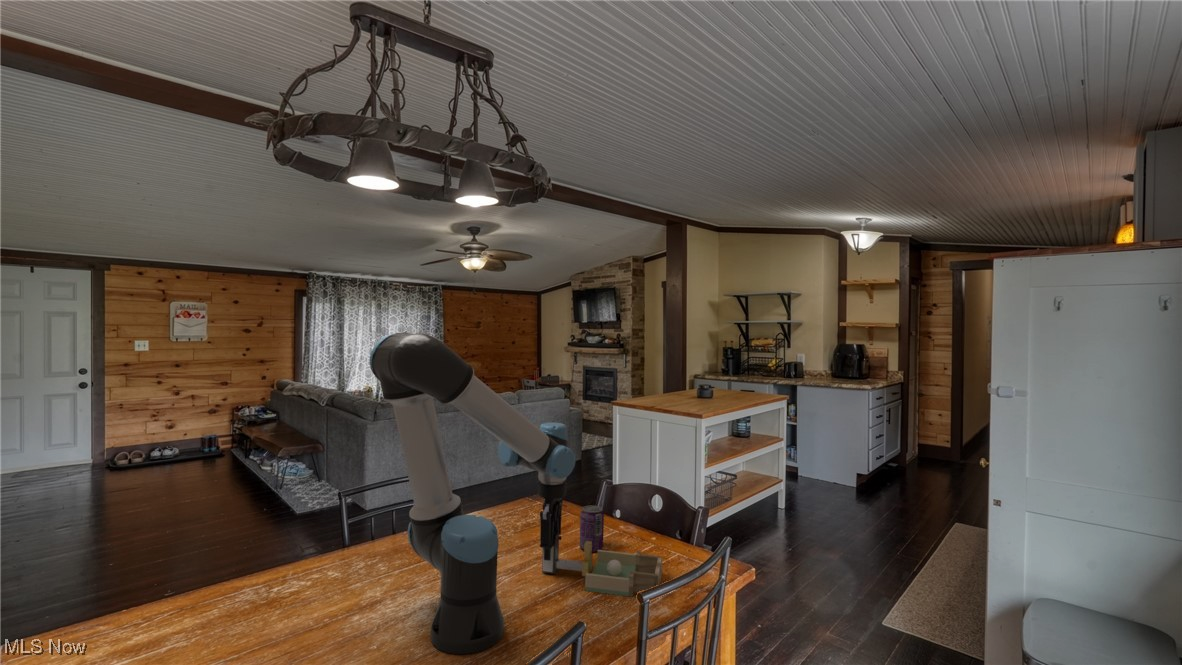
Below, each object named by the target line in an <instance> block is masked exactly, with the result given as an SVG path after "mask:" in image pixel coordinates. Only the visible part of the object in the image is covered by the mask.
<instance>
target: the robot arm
mask: <svg viewBox="0 0 1182 665" xmlns="http://www.w3.org/2000/svg"><path fill="white" fill-rule="evenodd" d="M369 367H370V370H371V372H372V374H373V375H374V377H375V379H377V380H378V381H379V382H380V387H381V391H382V397H383V400H384V401H385V402H387V403H388V404H391V405H392V407H393V413H394V418H395V421H396V426H397V432H398V435H399V436H398V437H399V439H400V445H401V449H402V453H403V458H404V462H405V467H406V472H407V476H408V482H409V485H410V490H411V491H410V492H411V495H412V498H413V499H412V500H413V506H412V507H411V508H410V510H409V520H410V522H409V523H408V527H407V539H408V542H409V544H410V546H411V548H412V550H413V551H414V552H415V554H417V556H419V557H420V558H422V559H423V560H425V561H426V562H427V563H428V564H430V565H431V566H432V567H433V568H434V569H436V570H437V571H438V572H439V573H440V598H439V602H438V605H437V608H436V611H435V614H434V617H433V619H432V623H431V625H430V626H431V627H430V642H431V644H432V645H433V646H434V647H435V648H436V649H437V650H439V651H441V652H444V653H448V654H453V655H468V654H469V655H471V654H474V653H480V652H482V651H485V650H487V649H490V648H491V647H493V646H494V645H495V644H497V643H498V642H499V641H500V640H501V639H502V638H503V635H504V633H505V632H504V631H505V627H504V624H505V619H504V616H503V613H502V610H501V606H500V602H499V600H498V596H497V588H498V586H497V583H498V578H497V577H498V555H499V553H498V552H499V551H498V549H499V547H500V546H499V536H498V529H497V526H496V524H495V523H494V522H493V521H492V520H490V519H489V518H487V517H484V516H480V515H479V516H477V515H475V514H464V510H463V504H462V501H461V497H460V496H459V495H457V494H455V493H453V490H452V486H451V480H450V476H449V471H448V466H447V460H446V454H445V451H444V445H443V441H442V437H441V432H440V427H439V426H440V425H439V422H438V418H437V417H438V416H437V412H436V406H435V403H434V399H435V400H437V401H438V402H440V403H441V405H452V406H454V407H455V409H457V410H459V411H460V412H461V413H462V414H464V415H466V416H467V417H468V418H469V419H470V420H472V421H473V422H475V423H476V424H477V425H479V426H480V427H481V428H483V429H484V430H485V431H487V432H488V433H489V434H491V435H492V436H494V437H495V438H496V439H498V441H499V443H498V448H497V455H498V458H499V461H500V463H501V465H503V466H505V467H507V468H508V467H517V466H523V467H525V468H527V469H530V470H533V471H536V472H538V478H537V479H538V485H537V486H538V487H537V488H538V489H537V490H538V491H537V494H538V496H539V497H540V498H543V499H544V502H543V503H542V510H541V511H540V512H539V518H540V520H539V521H540V544H539V548H542V559H543V571H547V572H553V555H554V547H553V532H554V531H558V532H559V541H561V540H562V536H561V534H562V516H563V515H562V511H563V510H562V508H563V498H564V497H566V494H567V482H566V480H567V478H568V477H569V475H571V473H572V472H573V470H574V469H575V467H576V466H575V465H576V455H575V453H574V451H573V450H572V449H571V448H570V447H568V442H569V439H568V438H569V437H568V428H567V425H566V424H564V423H561V422H544V423H541V424H540V426H539V427H538V426H537V425H535V424H534V423H533V422H532V421H531V420H529V419H528V418H527V417H525V415H523V414H522V413H520V411H518V410H517V409H516V408H515V407H513V406H512V405H511V404H510V403H509V402H508V401H506V400H505V399H504V398H502V397H501V396H500V395H499V394H498V393H496V392H495V391H494V390H493V389H492V388H490V386H488V385H486V383H484V382H483V381H482V380H480V379H479V378H478V377H477V376H475V370H474V367H472V366H471V364H469V363H468V362H467V361H466V360H464V359H463V358H462V357H461V356H460V355H458V354H457V353H456V352H455V351H454V350H453V349H451V348H450V347H449V346H448V345H446V344H445V343H444V342H443V341H441V340H440V339H438V338H437V337H434V336H432V335H429V334H426V333H409V332H406V331H405V332H404V331H402V332H395V333H391V334H387V335H386V336H383V337H381V339H379V340H378V341H377V342H376V343H375V344H374V346H373V348H372V350H371V351H370V355H369Z"/></svg>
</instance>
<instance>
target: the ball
mask: <svg viewBox="0 0 1182 665" xmlns="http://www.w3.org/2000/svg"><path fill="white" fill-rule="evenodd" d="M607 571H608V573H609V574H610V575H611V576H618V575H619V574H620V573H621V571H622V565H621V563H620V562H619V561H617V560H611V561H610V562H609V563H608V564H607Z"/></svg>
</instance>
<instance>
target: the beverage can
mask: <svg viewBox="0 0 1182 665" xmlns="http://www.w3.org/2000/svg"><path fill="white" fill-rule="evenodd" d="M579 516H580V517H579V518H580V519H579V548H580V549H582V550H583V551H584V544H585V543H586V541H591V542H592V553H596V552H597V551H598V550H603V548H604V531H605V530H604V525H605V524H604V523H605V522H604V520H605V514H604V512H603V507H601V506H600V505H586V506H583V507H582V508H581V511H580V515H579Z"/></svg>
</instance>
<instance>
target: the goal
mask: <svg viewBox="0 0 1182 665" xmlns="http://www.w3.org/2000/svg"><path fill="white" fill-rule="evenodd" d="M635 554H636V570H635V571H631V572H630V575H629V596H628V597H631V598H633V597H634V594H637V592H639V591H642V590H646V589H649V588H651V587H654V586H656V585H659V584H660V585H661V581H662V576H663V574H662V572H663V556H662V555H651V554H644V553H642V551H641V550H637V551H636V553H635Z"/></svg>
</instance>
